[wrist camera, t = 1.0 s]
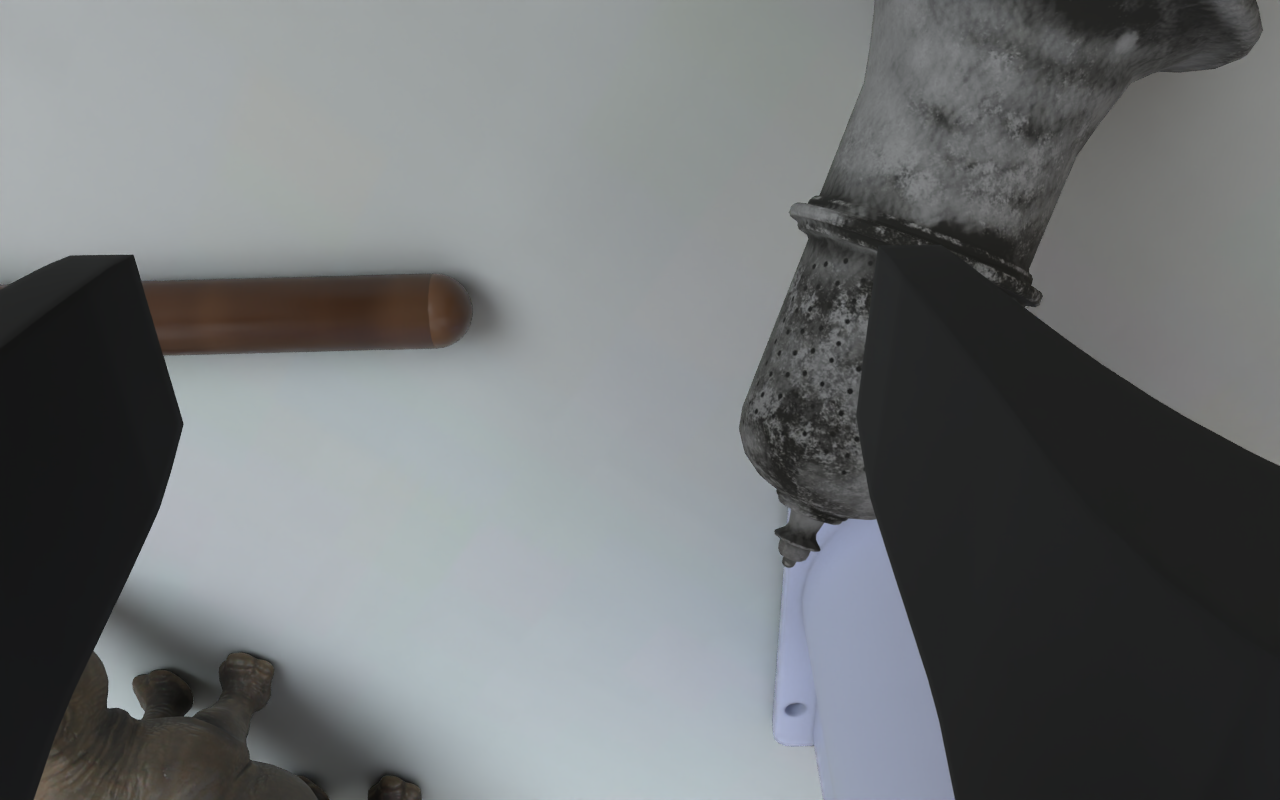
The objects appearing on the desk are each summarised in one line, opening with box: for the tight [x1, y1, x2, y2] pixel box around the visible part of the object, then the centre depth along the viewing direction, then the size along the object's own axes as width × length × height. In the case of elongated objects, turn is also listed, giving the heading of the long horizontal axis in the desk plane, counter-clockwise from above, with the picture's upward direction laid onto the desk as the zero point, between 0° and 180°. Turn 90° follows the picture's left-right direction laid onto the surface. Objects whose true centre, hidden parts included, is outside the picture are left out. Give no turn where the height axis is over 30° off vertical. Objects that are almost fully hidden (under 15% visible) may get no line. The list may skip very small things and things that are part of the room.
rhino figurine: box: [34, 651, 422, 800], centre depth 27 cm, size 4×14×6 cm, turn 34°
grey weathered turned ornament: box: [739, 0, 1263, 568], centre depth 16 cm, size 6×6×12 cm
